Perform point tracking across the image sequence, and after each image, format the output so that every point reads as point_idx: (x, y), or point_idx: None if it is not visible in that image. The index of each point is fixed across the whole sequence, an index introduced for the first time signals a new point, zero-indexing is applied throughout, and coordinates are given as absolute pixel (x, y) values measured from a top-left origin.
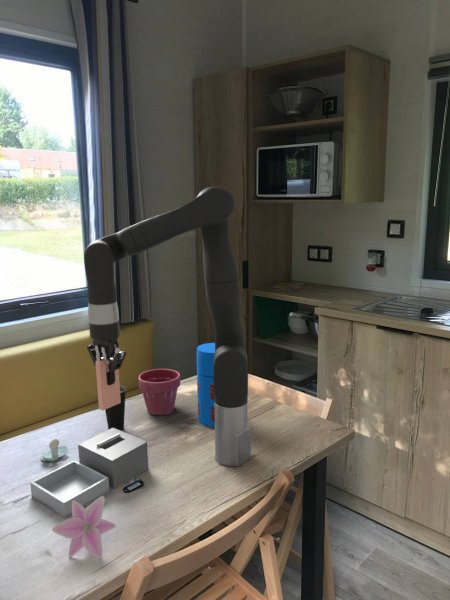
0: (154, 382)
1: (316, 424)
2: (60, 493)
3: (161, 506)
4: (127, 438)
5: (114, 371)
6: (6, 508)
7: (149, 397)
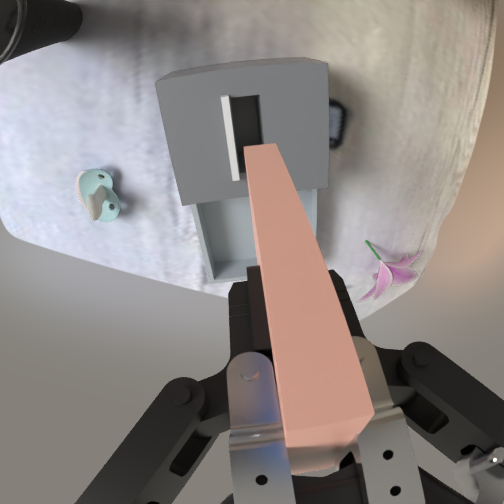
0: None
1: None
2: (245, 235)
3: (416, 137)
4: (260, 87)
5: (363, 337)
6: (214, 293)
7: None
